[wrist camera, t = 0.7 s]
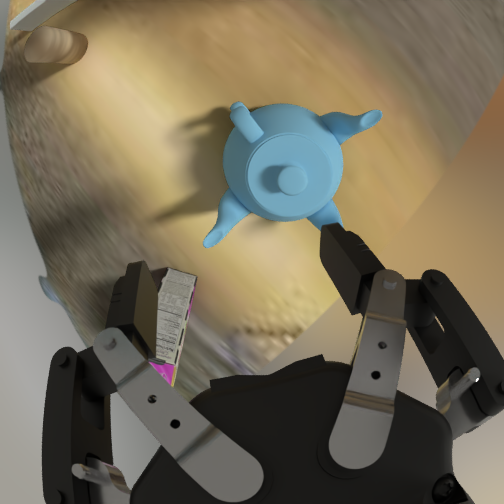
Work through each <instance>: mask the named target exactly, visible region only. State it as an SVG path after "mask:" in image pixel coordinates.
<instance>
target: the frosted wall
mask: <svg viewBox="0 0 504 504" xmlns="http://www.w3.org/2000/svg"><path fill="white" fill-rule="evenodd" d="M75 1H77V0H36V1H35V2H33V3H32V4H31V5H30V6H28V7H27V8H26V9H25V10H23V11H22V12H21V13H20V14H19V15H17V16H16V17H15V18H14V19H13V20H12V21H11V22H10V29H13V30H23V31H32V30H34V29H35V28H36V27H38V26H39V25H40V24H42V23H43V22H45V21H46V20H47V19H49V18H50V17H52V16H53V15H55V14H56V13H58V12H59V11H61V10H62V9H64V8H66V7H67V6H69V5H70V4H72V3H74V2H75Z"/></svg>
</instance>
